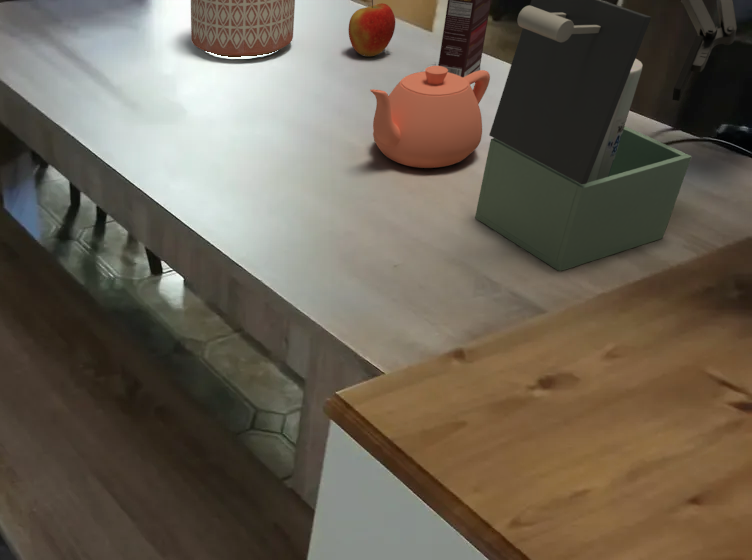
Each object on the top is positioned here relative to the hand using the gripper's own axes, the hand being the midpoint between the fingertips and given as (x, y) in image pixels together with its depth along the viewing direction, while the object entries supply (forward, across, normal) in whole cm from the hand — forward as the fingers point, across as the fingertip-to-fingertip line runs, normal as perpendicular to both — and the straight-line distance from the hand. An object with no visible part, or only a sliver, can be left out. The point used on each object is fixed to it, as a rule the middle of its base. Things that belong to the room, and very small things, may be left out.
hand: (615, 85), depth 110 cm
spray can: (+14, 0, -9) cm, 17 cm away
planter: (-14, +73, -37) cm, 83 cm away
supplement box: (-16, +32, -40) cm, 54 cm away
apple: (-18, +50, -42) cm, 68 cm away
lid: (+5, +4, +9) cm, 11 cm away
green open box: (+15, 0, -9) cm, 17 cm away
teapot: (+7, +25, -17) cm, 31 cm away
